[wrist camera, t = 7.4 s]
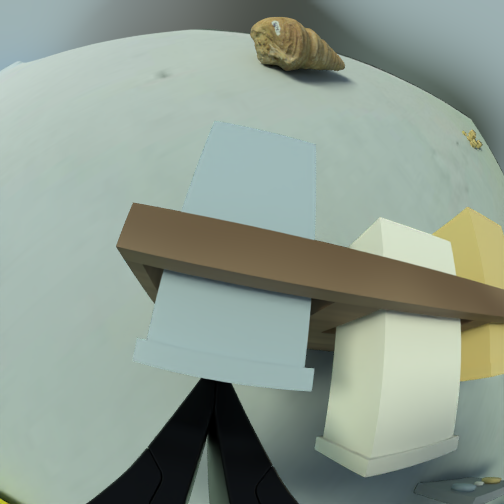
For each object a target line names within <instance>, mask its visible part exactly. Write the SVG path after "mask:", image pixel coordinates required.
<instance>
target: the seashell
mask: <svg viewBox="0 0 504 504" xmlns="http://www.w3.org/2000/svg"><path fill="white" fill-rule="evenodd" d="M250 36H251V38H252V39H253V40H254V42H255V48H256V51H257V57H258V59H259V60H260V62H261V63H262V64H271V65H272V66H273V65H277V66H280V67H281V68H282V69H283V70H285V71H290V70H296V69H301V68H302V69H317V70H325V69H326V70H334V71H336V70H337V71H339V70H343V69H344V68H345V64H344V62H343V61H342V59H341V58H340V57H339V55H337V54H336V53H335V52H334V51H333V49H332V48H330V47H329V45H328V44H327V43H326V42H325V41H324V40H321V39H320V37H319V36H318V35H317V34H316V33H315V32H314V31H313V30H311V29H309V28H304V27H303V26H302V25H301V24H300V23H299V22H297V21H296V20H294V19H291V18H286V17H285V18H284V17H271V18H266V19H263V20H261V21H259V22H258V23H256V24H255V25H254V26H253V27H252V28H251V34H250Z"/></svg>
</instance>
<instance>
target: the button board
mask: <svg viewBox="0 0 504 504" xmlns="http://www.w3.org/2000/svg"><path fill="white" fill-rule="evenodd" d="M116 247H117V249H118V250H119V252H120V254H121V255H122V257H123V258H124V260H125V261H126V263H127V264H128V266H129V267H130V269H131V271H132V272H133V274H134V275H135V276H136V278H137V279H138V281H139V282H140V284H141V285H142V287H143V288H144V290H145V291H146V292H147V294H148V295H149V297H150V298H151V299H152V301H153V302H154V304H155V301H156V297H157V293H158V289H159V286H160V282H161V278H162V274H163V271H164V269H166V270H171V271H175V272H180V273H184V274H189V275H194V276H198V277H203V278H208V279H213V280H218V281H222V282H227V283H232V284H237V285H243V286H248V287H253V288H258V289H263V290H269V291H274V292H280V293H285V294H291V295H297V296H302V297H308V298H311V309H310V320H309V331H308V341H307V349H313V350H323V351H334V350H335V338H336V327H337V326H340V325H343V324H345V323H348V322H350V321H353V320H355V319H358V318H361V317H363V316H365V315H368V314H370V313H373V312H375V311H378V310H380V309H385V310H392V311H399V312H407V313H414V314H422V315H430V316H439V317H447V318H456V319H460V324H461V332H463V331H466V330H469V329H472V328H475V327H479V326H481V325H484V324H487V323H490V322H497V323H504V289H500V288H497V287H494V286H490V285H487V284H483V283H480V282H476V281H473V280H469V279H466V278H462V277H459V276H455V275H451V274H448V273H444V272H440V271H437V270H433V269H429V268H426V267H422V266H418V265H414V264H410V263H406V262H403V261H399V260H395V259H391V258H387V257H383V256H379V255H375V254H371V253H367V252H363V251H359V250H355V249H350V248H346V247H342V246H338V245H334V244H329V243H325V242H321V241H317V240H312V239H308V238H303V237H299V236H295V235H290V234H286V233H281V232H277V231H272V230H268V229H263V228H258V227H254V226H249V225H244V224H240V223H235V222H230V221H225V220H220V219H216V218H211V217H206V216H201V215H196V214H191V213H186V212H180V211H175V210H170V209H165V208H160V207H154V206H149V205H144V204H138V203H133V204H132V207H131V209H130V211H129V214H128V216H127V219H126V221H125V224H124V226H123V229H122V232H121V234H120V237H119V240H118V242H117V245H116Z"/></svg>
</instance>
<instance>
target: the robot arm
mask: <svg viewBox="0 0 504 504" xmlns="http://www.w3.org/2000/svg"><path fill="white" fill-rule="evenodd" d="M207 434H208V435H207ZM206 439H207V459H208V484H209V503H210V504H298V502H297V501H296V500H295V499H294V497H293V496H292V495H291V493H290V492H289V491H288V489H287V488H286V486H285V485H284V483H283V482H282V480H281V478H280V477H279V475H278V473H277V472H276V470H275V468H274V467H273V466H272V463H271V461H270V459H269V457H268V455H267V454H266V452H265V450H264V448H263V446H262V444H261V442H260V440H259V439H258V437H257V435H256V433H255V431H254V429H253V427H252V425H251V423H250V421H249V419H248V417H247V415H246V413H245V411H244V409H243V407H242V405H241V403H240V400H239V398H238V396H237V394H236V392H235V390H234V388H233V386H232V383H228V382H222V381H216V380H211V379H205V378H201V379H200V380H199V382H198V383H197V384H196V386H195V387H194V388H193V389H192V391H191V392H190V393H189V395H188V396H187V397H186V399H185V400H184V401H183V403H182V404H181V405H180V406H179V408H178V409H177V410H176V412H175V413H174V414H173V415H172V417H171V418H170V419H169V421H168V422H167V423H166V424H165V426H164V427H163V428H162V430H161V431H160V432H159V433H158V435H157V436H156V437H155V438H154V440H153V441H152V442H151V443H150V445H149V446H148V448H146V449H145V450H144V452H143V453H142V454H141V455H140V457H139V458H138V459H137V460H136V461H135V462H134V463H133V464H132V466H131V467H130V468H129V469H128V470H127V471H125V472H124V473H123V474H122V475H121V476H120V477H119V478H118V479H117V480H116V481H114V482H113V483H112V484H111V485H110V486H108V487H107V488H106V489H105V490H103V491H102V492H101V493H100V494H98V495H97V496H96V497H95V498H93V499H92V500H91V501H89V502H88V503H86V504H188V503H189V499H190V496H191V492H192V489H193V485H194V482H195V478H196V475H197V471H198V468H199V464H200V461H201V457H202V454H203V450H204V447H205V443H206ZM271 466H272V467H271Z"/></svg>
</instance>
